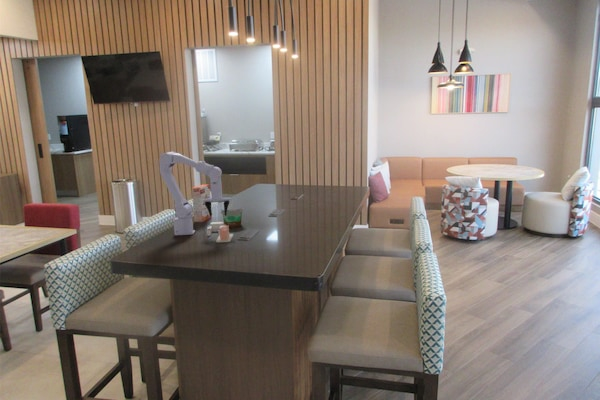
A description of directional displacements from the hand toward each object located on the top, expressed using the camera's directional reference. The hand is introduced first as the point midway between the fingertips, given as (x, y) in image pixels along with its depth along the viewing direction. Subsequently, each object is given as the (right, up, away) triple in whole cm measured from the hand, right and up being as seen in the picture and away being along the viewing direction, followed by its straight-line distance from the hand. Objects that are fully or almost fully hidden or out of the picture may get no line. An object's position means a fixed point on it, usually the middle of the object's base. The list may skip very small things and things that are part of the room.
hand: (218, 215), depth 226 cm
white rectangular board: (+5, -11, -10) cm, 16 cm away
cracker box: (-15, -4, +34) cm, 37 cm away
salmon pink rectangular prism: (+5, -11, -10) cm, 16 cm away
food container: (+6, -7, +14) cm, 16 cm away
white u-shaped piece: (-2, -9, +3) cm, 10 cm away
